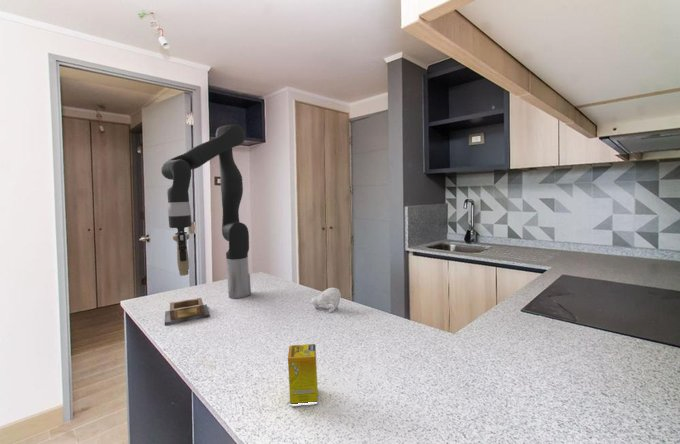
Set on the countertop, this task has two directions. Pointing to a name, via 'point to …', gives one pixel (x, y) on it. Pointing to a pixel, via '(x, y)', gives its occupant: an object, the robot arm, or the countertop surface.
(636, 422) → the countertop surface
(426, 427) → the countertop surface
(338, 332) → the countertop surface
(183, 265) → the handle
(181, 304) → the socket
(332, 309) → the white animal figurine
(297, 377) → the supplement box
